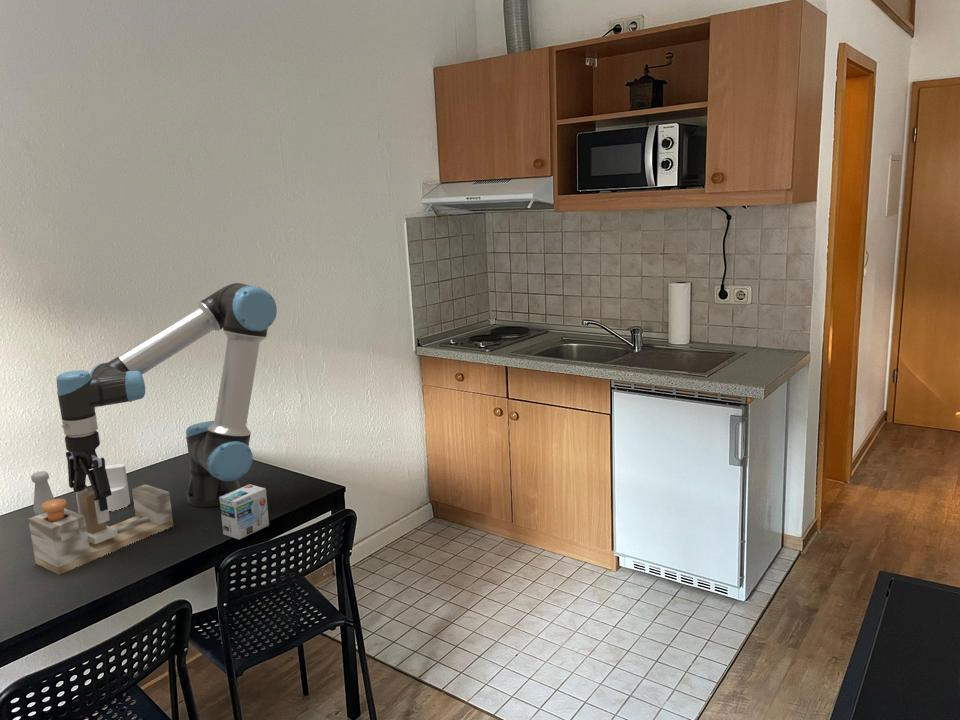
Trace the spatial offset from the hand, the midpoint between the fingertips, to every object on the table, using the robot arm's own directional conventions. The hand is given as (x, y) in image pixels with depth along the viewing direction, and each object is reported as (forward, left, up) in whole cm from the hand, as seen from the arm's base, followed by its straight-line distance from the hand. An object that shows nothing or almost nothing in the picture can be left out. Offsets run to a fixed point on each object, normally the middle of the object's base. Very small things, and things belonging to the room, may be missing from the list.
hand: (94, 518), depth 193 cm
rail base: (-1, -2, -8) cm, 8 cm away
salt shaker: (+27, -20, -8) cm, 34 cm away
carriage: (0, 0, -5) cm, 5 cm away
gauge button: (+5, +8, +2) cm, 9 cm away
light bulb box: (-35, -11, -9) cm, 38 cm away
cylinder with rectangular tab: (+11, -27, -9) cm, 30 cm away
